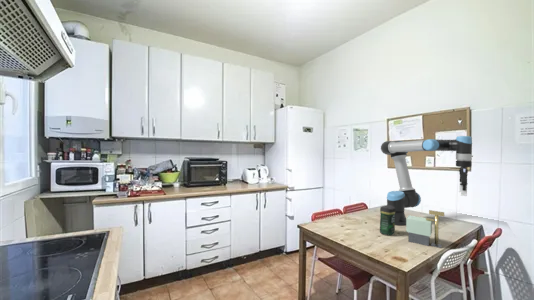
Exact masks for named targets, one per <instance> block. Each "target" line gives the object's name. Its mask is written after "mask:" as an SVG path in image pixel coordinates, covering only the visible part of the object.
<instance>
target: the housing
mask: <svg viewBox="0 0 534 300" xmlns="http://www.w3.org/2000/svg"><path fill="white" fill-rule="evenodd" d="M407 233H408V234H407V235H408V236H407V237H408V238H407V239H408V242H409V243H414V244H418V245H422V246H427V247H429V245H430V243H431V245H430V247H434V248H438V249H442V244H440V243H438V245H436V244H435V242H431V241H430V240H431V238H430V236H425V235H420V234H415V233H410V232H407Z"/></svg>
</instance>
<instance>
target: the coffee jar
mask: <svg viewBox="0 0 534 300" xmlns="http://www.w3.org/2000/svg"><path fill="white" fill-rule="evenodd" d="M379 213H380V214H379V215H380V220H379V221H380V223H379V233H380V234H382V235H385V236H393V235H394V234H396V229H395V228H396V227H395V226H396V225H395V207H394V206H391V205H387V204H386V205H383V206H380V209H379Z"/></svg>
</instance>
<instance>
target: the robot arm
mask: <svg viewBox="0 0 534 300" xmlns="http://www.w3.org/2000/svg"><path fill="white" fill-rule="evenodd" d="M472 139H473V138H472V137H471V136H470V135H459V136H456V138H455V139H437V138H436V139H435V138H434V139H433V138H428V139H422V140H421V139H420V140H419V139H418V140H407V141H402V140H386V141H384V142H382V143H381V145H380V150H381V152H382V153H383V154H385V155H386V156H387V155H388V156H390V158H391V159H392V160H393V163H394V167H395V168H394V169H395V171H396V177H397V181H398V186H399V188H398V190H391V191H388V192H387V195H386V205H391V206H394V207H395V226H406V218H407V217H406V214H405V209H407V208H408V209H409V208H417V207H418V206H419V205H420V204H421V201H422V197H421V195H420V194H419V193H418V192H417V191H416V189H415V188H414V187H413V184H412V180H411V177H410V172H409V168H408V167H409V166H408V164H407V159H406V158H407V156H408V155H407V154H408V153H409V152H410V153H412V152H437V151H438V152H455V160H456V161H455V167H459V169H458V172H459V191H458V192H459V193H460V196H462V197H463V196H464V197H467V196H468V172H469V171H468V169H467V168H472V158H473V157H474V155H472V149H473V148H472V147H473V140H472Z"/></svg>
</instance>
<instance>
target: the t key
mask: <svg viewBox="0 0 534 300" xmlns="http://www.w3.org/2000/svg"><path fill="white" fill-rule="evenodd" d="M428 214H429V215H431V216H432V215H433V216H434V218H430V217H425V218H426V220H429V221H432V222H434V243H435V244H436V245H438V244H439V227H440V226H439V218H440V217H445V211H438V210H431V209H429V211H428Z"/></svg>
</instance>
